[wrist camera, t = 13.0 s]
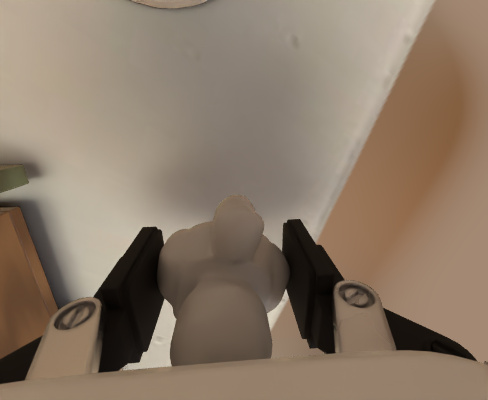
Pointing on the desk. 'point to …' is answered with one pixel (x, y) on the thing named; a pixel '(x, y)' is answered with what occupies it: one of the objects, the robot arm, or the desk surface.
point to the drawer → (20, 275)
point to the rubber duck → (222, 286)
